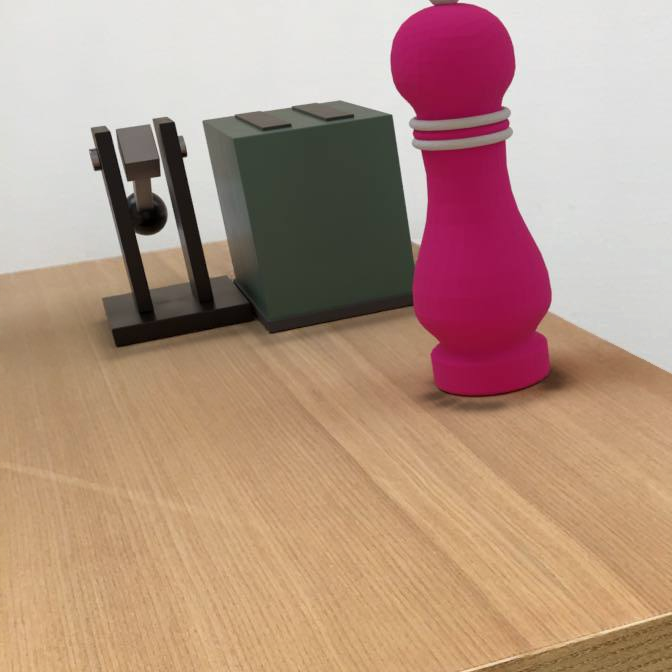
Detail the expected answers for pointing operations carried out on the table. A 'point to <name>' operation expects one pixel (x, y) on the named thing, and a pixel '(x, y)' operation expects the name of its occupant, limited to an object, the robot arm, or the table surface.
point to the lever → (142, 178)
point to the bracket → (201, 291)
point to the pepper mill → (470, 204)
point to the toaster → (313, 211)
